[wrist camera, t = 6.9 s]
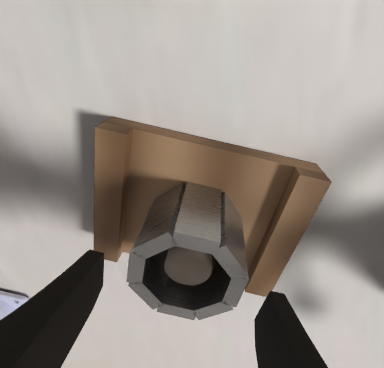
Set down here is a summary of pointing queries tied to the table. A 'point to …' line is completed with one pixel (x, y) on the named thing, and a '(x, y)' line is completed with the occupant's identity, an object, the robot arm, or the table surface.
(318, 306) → the table surface
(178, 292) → the tube
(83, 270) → the robot arm
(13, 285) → the table surface
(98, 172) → the shaft block
